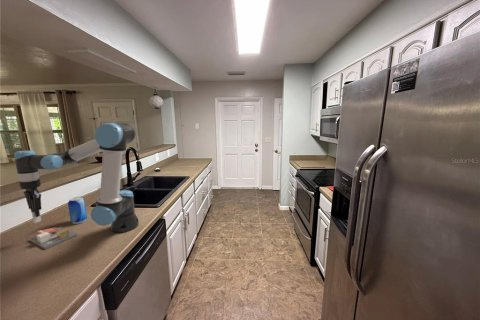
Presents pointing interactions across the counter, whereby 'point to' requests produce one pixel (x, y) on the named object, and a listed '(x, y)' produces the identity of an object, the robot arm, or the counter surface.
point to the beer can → (77, 210)
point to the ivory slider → (43, 237)
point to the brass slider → (62, 233)
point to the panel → (52, 239)
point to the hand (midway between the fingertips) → (37, 221)
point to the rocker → (48, 230)
